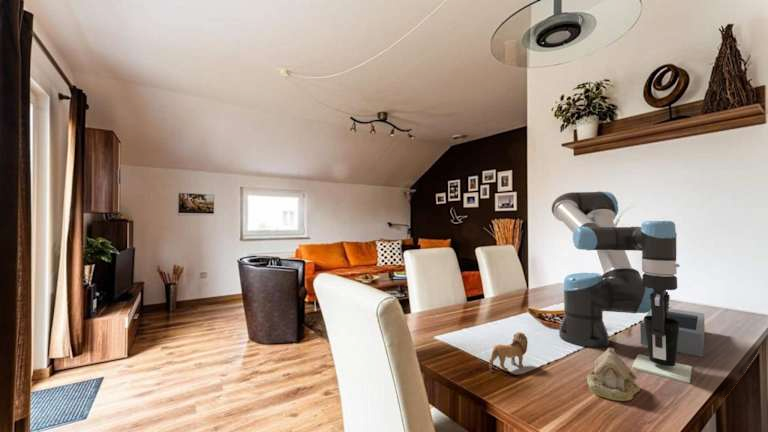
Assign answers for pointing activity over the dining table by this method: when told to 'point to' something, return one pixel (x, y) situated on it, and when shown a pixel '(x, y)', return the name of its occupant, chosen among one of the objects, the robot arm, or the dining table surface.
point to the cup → (671, 340)
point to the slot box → (684, 331)
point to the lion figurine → (510, 351)
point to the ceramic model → (612, 378)
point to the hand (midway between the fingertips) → (661, 353)
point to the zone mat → (663, 369)
